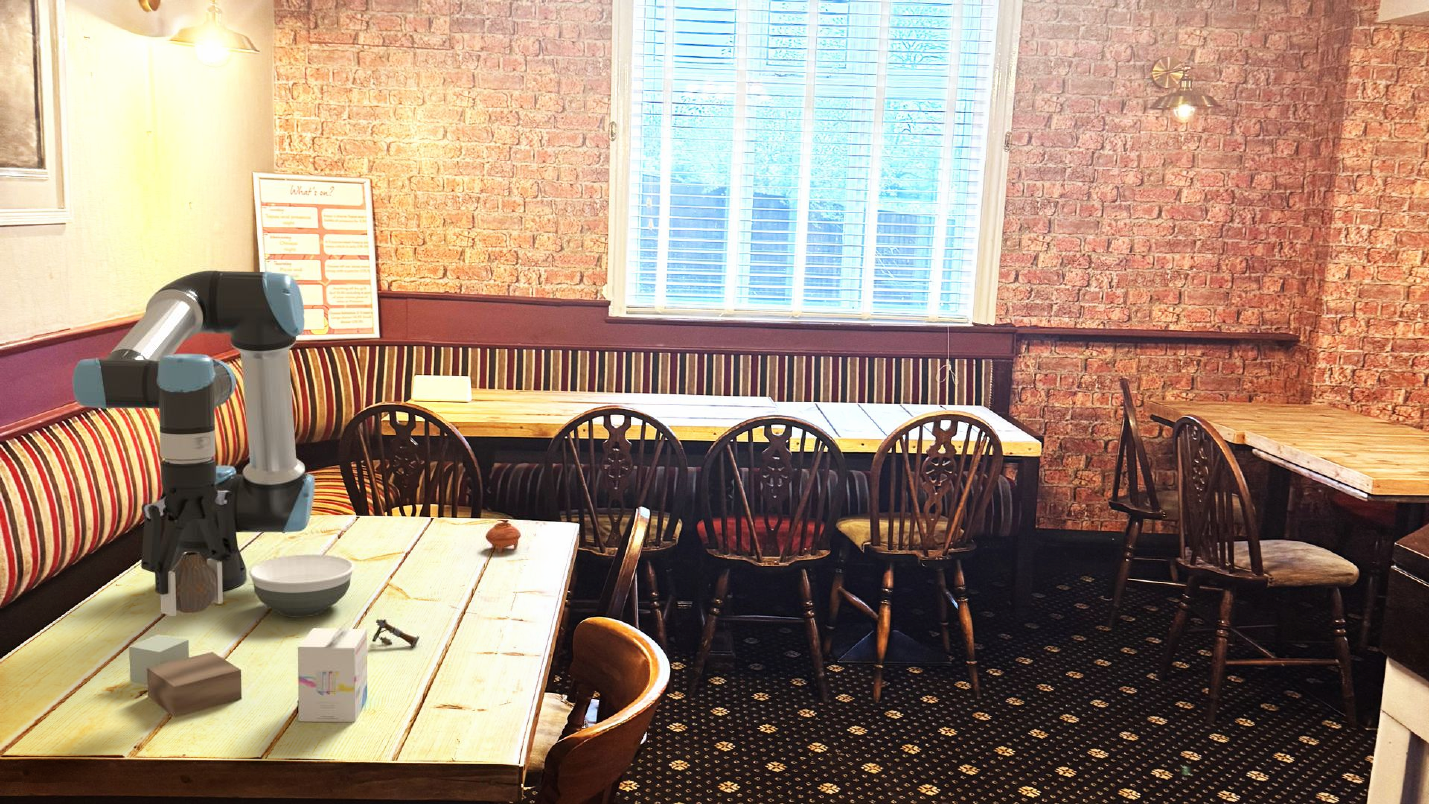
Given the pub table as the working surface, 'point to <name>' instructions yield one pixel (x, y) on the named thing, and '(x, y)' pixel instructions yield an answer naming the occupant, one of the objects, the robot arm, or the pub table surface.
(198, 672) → the plinth
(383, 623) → the wooden post with brackets
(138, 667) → the sage cube
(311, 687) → the ink box
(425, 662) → the pub table surface
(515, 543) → the pot
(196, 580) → the vase
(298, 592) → the bowl
